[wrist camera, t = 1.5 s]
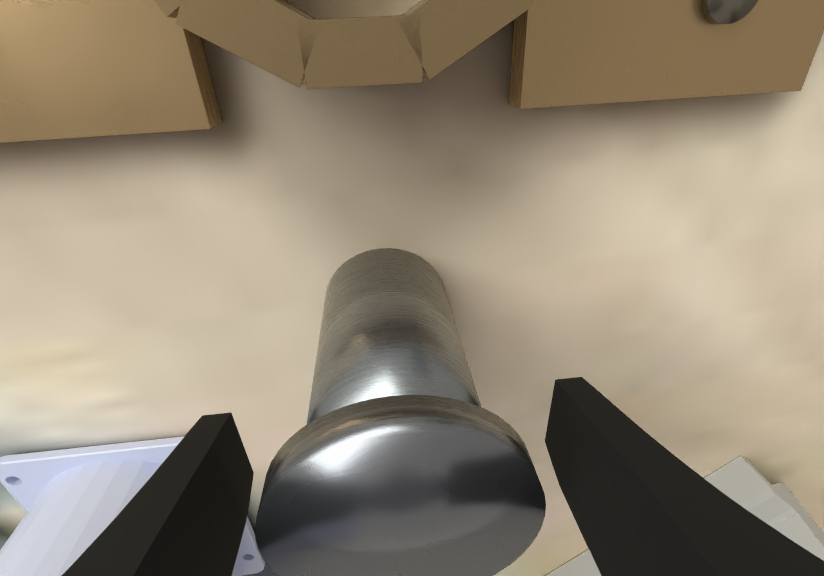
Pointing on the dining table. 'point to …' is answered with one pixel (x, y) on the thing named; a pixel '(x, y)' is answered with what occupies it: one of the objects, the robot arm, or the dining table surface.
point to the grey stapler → (752, 495)
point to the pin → (396, 444)
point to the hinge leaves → (380, 54)
